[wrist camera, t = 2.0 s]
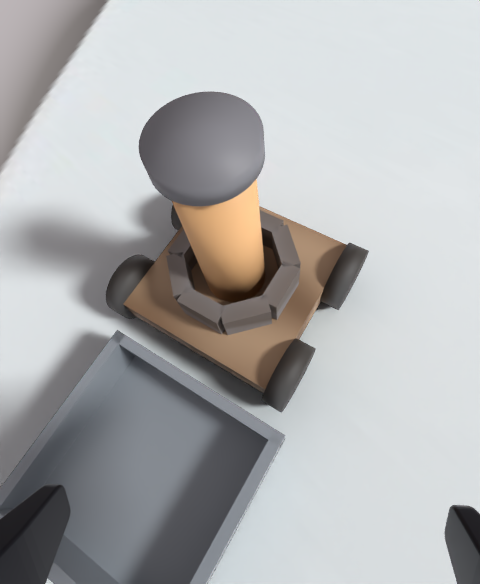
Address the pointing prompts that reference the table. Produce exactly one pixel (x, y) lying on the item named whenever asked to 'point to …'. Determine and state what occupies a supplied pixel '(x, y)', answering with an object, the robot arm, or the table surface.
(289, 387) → the trolley
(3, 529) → the robot arm
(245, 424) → the tray
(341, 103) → the table surface
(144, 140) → the pin
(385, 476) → the table surface
